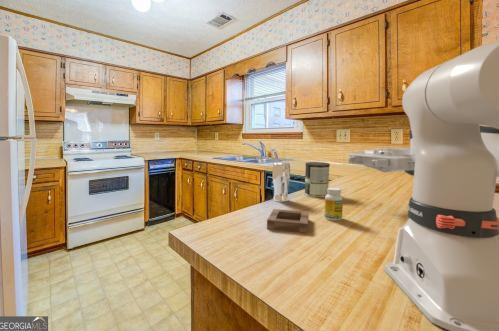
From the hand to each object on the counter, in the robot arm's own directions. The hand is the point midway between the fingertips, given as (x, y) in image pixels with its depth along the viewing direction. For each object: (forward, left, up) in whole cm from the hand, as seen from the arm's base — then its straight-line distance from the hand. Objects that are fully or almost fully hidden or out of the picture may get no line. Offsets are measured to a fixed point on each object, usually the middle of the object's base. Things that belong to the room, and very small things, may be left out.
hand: (361, 161), depth 83 cm
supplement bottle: (-9, +9, -18) cm, 22 cm away
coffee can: (+23, +14, -18) cm, 33 cm away
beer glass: (+9, +28, -18) cm, 34 cm away
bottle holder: (-18, +22, -18) cm, 33 cm away
